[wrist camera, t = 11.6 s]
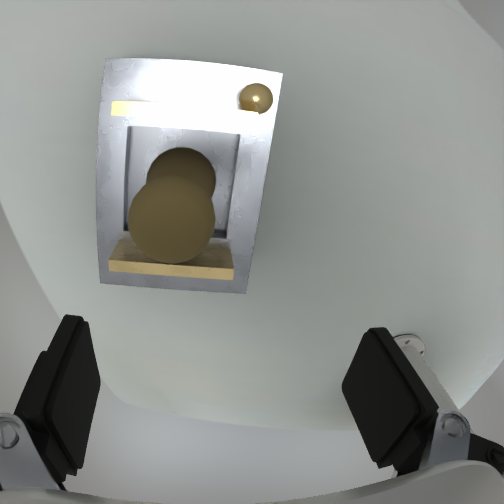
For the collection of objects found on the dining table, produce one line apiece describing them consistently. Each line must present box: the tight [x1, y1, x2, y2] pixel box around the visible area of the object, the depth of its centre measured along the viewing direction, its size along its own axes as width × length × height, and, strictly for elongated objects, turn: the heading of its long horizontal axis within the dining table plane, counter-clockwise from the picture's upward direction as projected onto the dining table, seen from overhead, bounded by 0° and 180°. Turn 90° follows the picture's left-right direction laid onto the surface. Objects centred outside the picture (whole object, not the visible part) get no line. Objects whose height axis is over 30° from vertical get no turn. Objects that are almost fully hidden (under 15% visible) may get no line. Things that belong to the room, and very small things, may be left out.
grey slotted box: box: [96, 58, 283, 294], centre depth 27 cm, size 20×14×10 cm
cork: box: [128, 147, 216, 263], centre depth 22 cm, size 6×6×11 cm
